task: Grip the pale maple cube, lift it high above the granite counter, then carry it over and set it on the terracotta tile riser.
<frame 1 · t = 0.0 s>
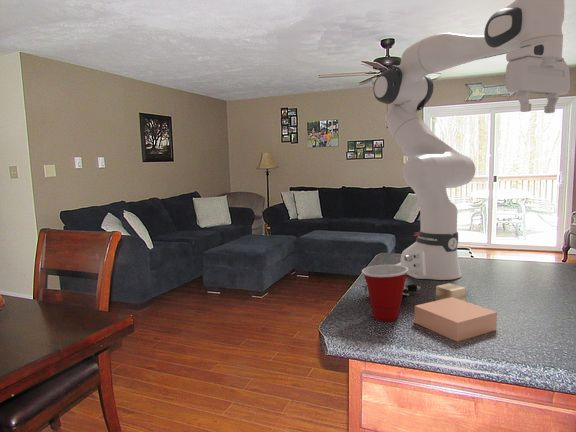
hand: (537, 112, 102), 48 cm above the counter, fingers open, 8 cm apart
maple cube: (450, 306, 106), on the counter
plastic cup: (384, 318, 99), on the counter
robot toy: (391, 298, 114), on the counter
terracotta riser: (454, 326, 92), on the counter
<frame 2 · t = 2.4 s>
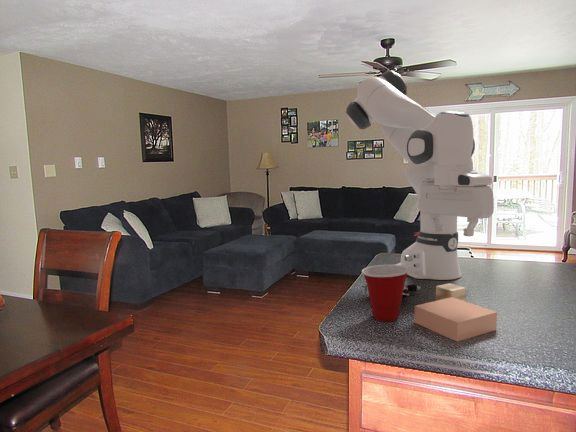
hand: (452, 233, 103), 19 cm above the counter, fingers open, 8 cm apart
nothing on the counter moved.
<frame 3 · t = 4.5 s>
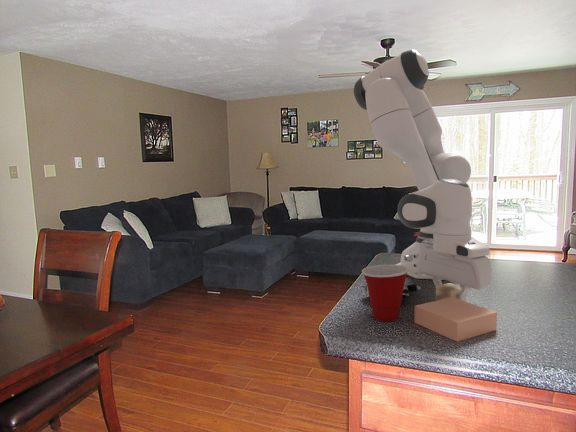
hand: (450, 297, 105), 2 cm above the counter, fingers closed on maple cube, 5 cm apart
maple cube: (450, 305, 106), on the counter, touching gripper
everything else where it was.
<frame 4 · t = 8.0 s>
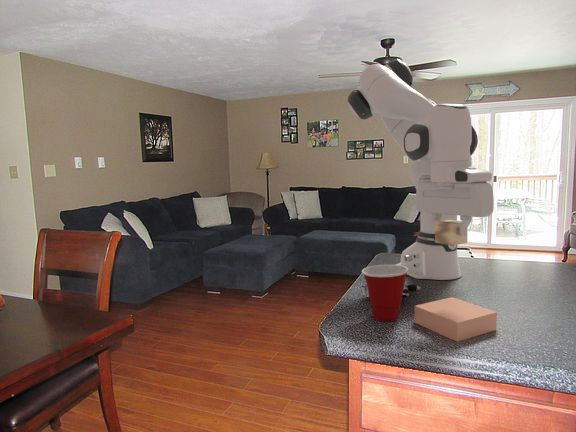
hand: (450, 233, 97), 20 cm above the counter, fingers closed on maple cube, 5 cm apart
maple cube: (451, 242, 97), point 18 cm above the counter, touching gripper
everything else where it was.
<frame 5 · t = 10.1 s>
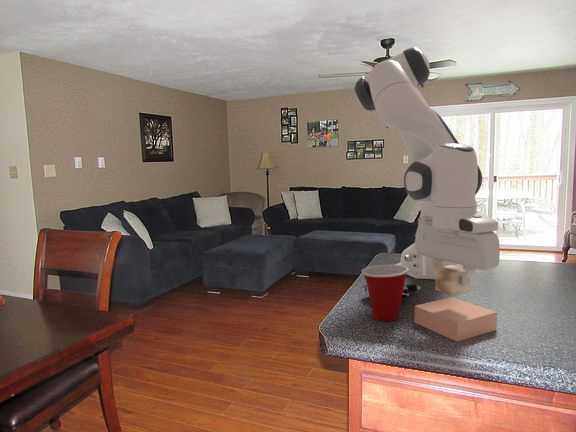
hand: (452, 281, 91), 10 cm above the counter, fingers closed on maple cube, 5 cm apart
maple cube: (452, 290, 91), point 8 cm above the counter, touching gripper
everything else where it was.
when the fingers open (8 cm above the counter, at t = 11.5 s): maple cube drops 1 cm, resting on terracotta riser.
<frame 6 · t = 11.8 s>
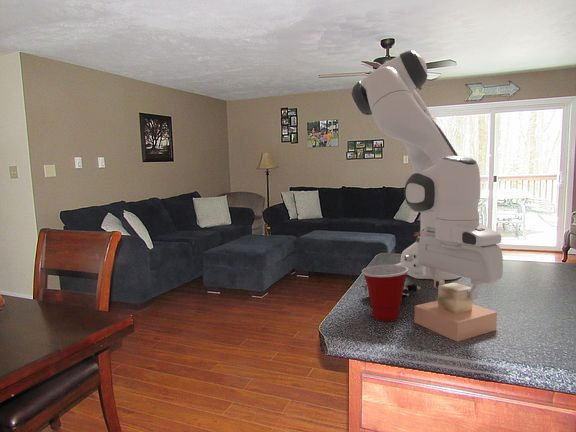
hand: (455, 293, 91), 8 cm above the counter, fingers open, 8 cm apart
maple cube: (454, 308, 92), point 4 cm above the counter, touching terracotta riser
everything else where it was.
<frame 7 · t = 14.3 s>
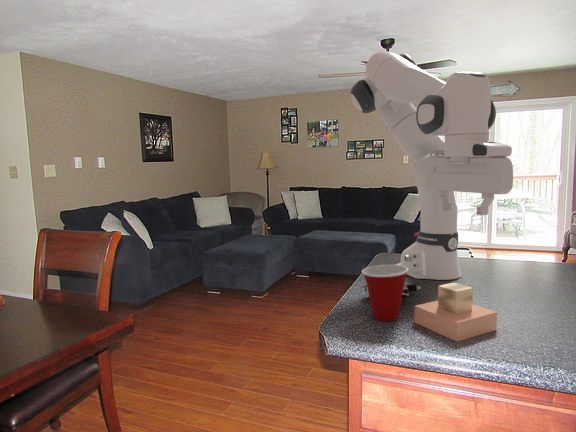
hand: (463, 212, 91), 25 cm above the counter, fingers open, 8 cm apart
nothing on the counter moved.
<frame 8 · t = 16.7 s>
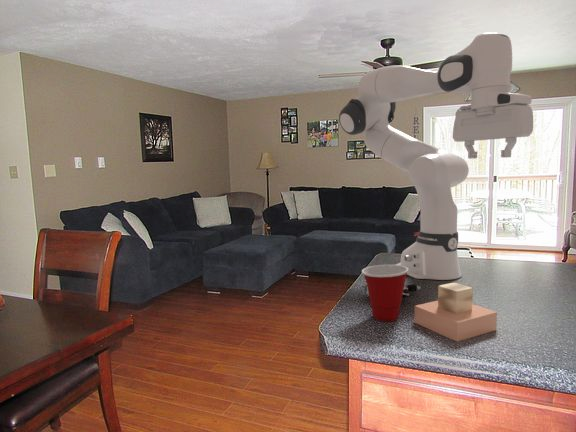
hand: (488, 158, 104), 37 cm above the counter, fingers open, 8 cm apart
nothing on the counter moved.
at the end: maple cube inside the target area on the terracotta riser (0.1 cm from its centre), point 4.0 cm above the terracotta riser's base; maple cube tilted 0°; the gripper is holding nothing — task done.
